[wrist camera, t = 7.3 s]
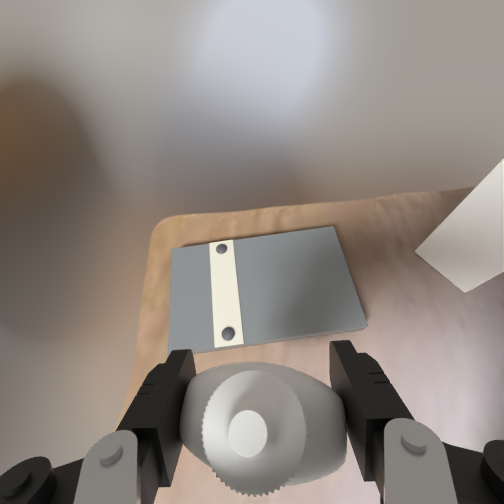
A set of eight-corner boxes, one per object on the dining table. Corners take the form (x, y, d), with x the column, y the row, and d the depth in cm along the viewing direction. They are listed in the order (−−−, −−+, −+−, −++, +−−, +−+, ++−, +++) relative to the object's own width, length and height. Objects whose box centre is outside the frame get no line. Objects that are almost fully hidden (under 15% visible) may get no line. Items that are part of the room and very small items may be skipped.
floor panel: (331, 233, 30) (334, 224, 29) (363, 329, 25) (368, 325, 23) (175, 255, 30) (170, 247, 29) (173, 356, 25) (167, 354, 23)
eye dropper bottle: (250, 347, 17) (207, 263, 6) (330, 407, 15) (455, 424, 4) (206, 412, 15) (55, 440, 5) (289, 488, 13) (336, 806, 3)
